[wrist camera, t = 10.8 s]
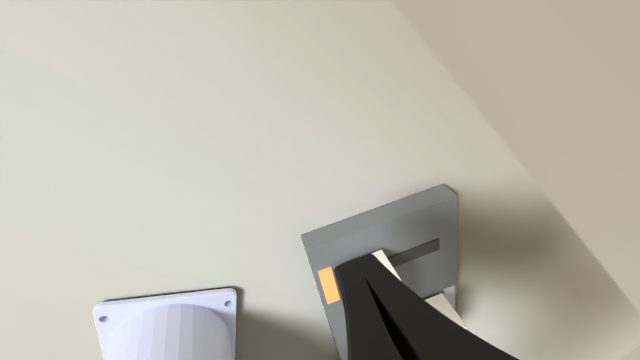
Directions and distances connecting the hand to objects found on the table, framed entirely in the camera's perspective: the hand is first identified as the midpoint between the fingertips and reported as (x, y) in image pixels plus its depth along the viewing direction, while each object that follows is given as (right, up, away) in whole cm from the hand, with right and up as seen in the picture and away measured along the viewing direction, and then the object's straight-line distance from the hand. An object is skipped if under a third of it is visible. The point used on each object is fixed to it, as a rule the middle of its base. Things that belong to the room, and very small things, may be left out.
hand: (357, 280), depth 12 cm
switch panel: (+4, -7, +17) cm, 18 cm away
